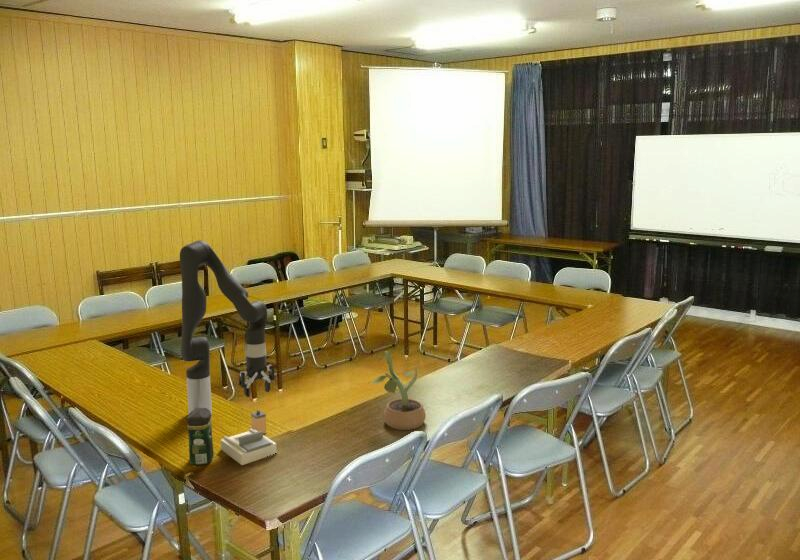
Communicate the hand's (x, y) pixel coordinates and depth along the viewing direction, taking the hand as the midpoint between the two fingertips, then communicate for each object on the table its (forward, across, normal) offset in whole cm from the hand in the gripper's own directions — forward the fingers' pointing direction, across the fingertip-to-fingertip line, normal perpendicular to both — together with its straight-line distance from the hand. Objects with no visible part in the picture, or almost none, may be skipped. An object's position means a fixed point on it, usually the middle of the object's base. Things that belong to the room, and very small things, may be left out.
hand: (257, 394), depth 263 cm
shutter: (+12, -11, -17) cm, 23 cm away
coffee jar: (+16, -27, -7) cm, 32 cm away
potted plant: (+16, +48, -27) cm, 57 cm away
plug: (+16, 0, 0) cm, 16 cm away
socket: (+16, -11, -12) cm, 23 cm away
